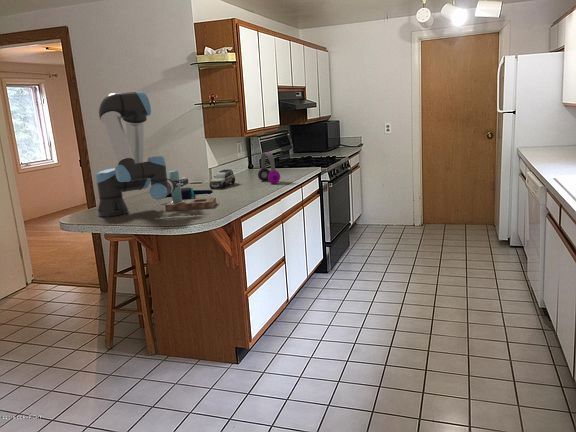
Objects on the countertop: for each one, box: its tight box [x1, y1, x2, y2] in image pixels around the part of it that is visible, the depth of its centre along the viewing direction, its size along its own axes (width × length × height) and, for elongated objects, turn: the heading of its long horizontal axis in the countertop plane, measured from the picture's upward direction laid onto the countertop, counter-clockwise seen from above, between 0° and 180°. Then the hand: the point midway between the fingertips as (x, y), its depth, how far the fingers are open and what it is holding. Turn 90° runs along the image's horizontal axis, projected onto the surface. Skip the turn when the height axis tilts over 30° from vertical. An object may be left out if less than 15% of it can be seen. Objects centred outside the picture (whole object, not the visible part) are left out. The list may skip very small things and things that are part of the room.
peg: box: [168, 170, 182, 203], centre depth 259 cm, size 5×5×16 cm
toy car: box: [209, 168, 236, 189], centre depth 330 cm, size 13×24×10 cm, turn 171°
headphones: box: [257, 151, 281, 185], centre depth 331 cm, size 21×9×20 cm, turn 25°
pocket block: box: [164, 197, 217, 212], centre depth 261 cm, size 24×12×4 cm, turn 88°
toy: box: [164, 187, 214, 200], centre depth 290 cm, size 31×8×30 cm
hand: (177, 179), depth 263 cm, fingers open, 8 cm apart
